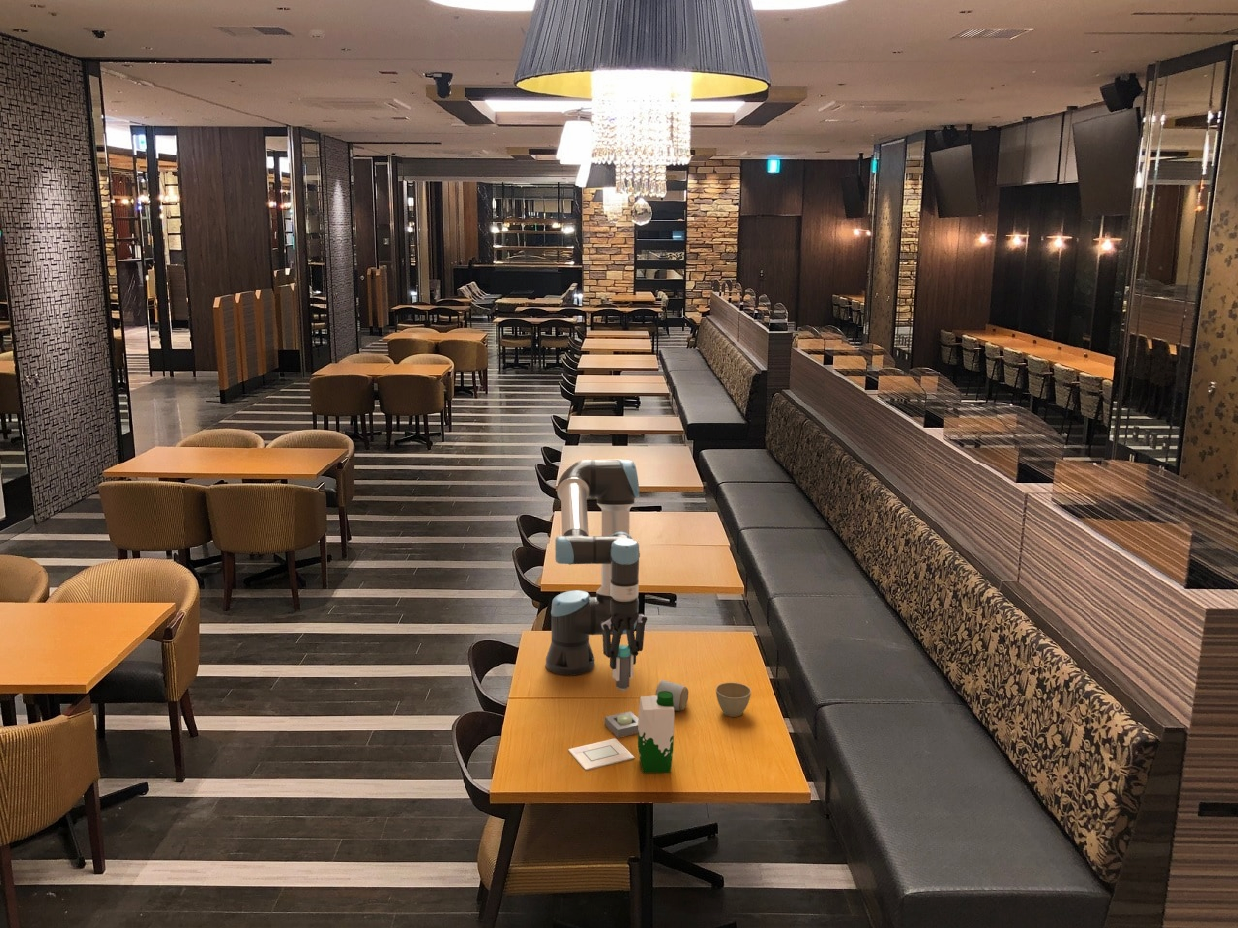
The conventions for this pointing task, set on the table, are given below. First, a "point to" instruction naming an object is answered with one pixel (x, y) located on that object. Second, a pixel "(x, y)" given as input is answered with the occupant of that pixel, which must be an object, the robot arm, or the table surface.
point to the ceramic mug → (674, 693)
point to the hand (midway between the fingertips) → (622, 676)
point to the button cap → (624, 720)
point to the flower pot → (733, 698)
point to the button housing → (625, 729)
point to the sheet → (600, 754)
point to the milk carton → (656, 732)
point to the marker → (624, 667)
